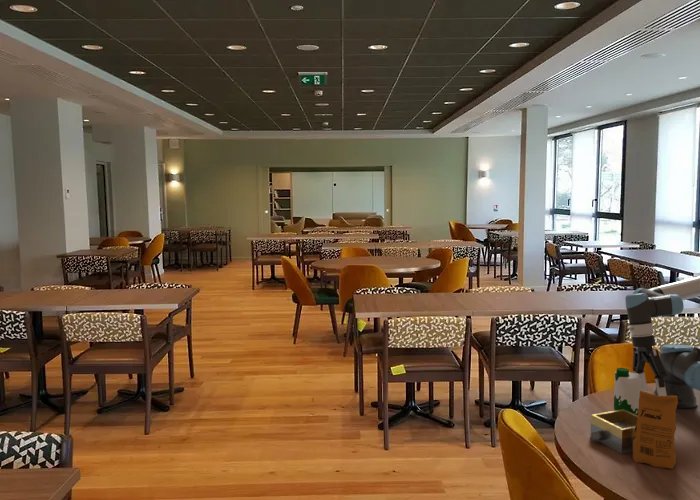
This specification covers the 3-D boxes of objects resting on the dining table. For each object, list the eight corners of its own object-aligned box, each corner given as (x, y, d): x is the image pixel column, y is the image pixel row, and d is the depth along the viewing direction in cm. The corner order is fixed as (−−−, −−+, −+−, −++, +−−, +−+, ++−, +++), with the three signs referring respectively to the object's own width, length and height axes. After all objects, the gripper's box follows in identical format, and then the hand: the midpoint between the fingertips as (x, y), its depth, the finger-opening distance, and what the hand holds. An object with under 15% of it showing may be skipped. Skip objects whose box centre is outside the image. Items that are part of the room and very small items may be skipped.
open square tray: (622, 431, 211) (623, 409, 210) (654, 447, 197) (655, 423, 197) (583, 438, 205) (584, 415, 204) (614, 455, 192) (614, 431, 191)
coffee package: (634, 450, 195) (637, 385, 193) (677, 459, 188) (680, 392, 186) (629, 462, 187) (632, 394, 185) (674, 472, 180) (677, 401, 178)
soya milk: (611, 417, 223) (612, 365, 221) (637, 419, 221) (639, 366, 219) (616, 427, 214) (618, 372, 212) (643, 428, 212) (646, 374, 210)
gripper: (617, 335, 232) (626, 390, 230) (649, 338, 207) (660, 400, 205) (636, 332, 232) (645, 387, 230) (670, 335, 207) (681, 397, 205)
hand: (652, 393), depth 217 cm, fingers open, 13 cm apart
